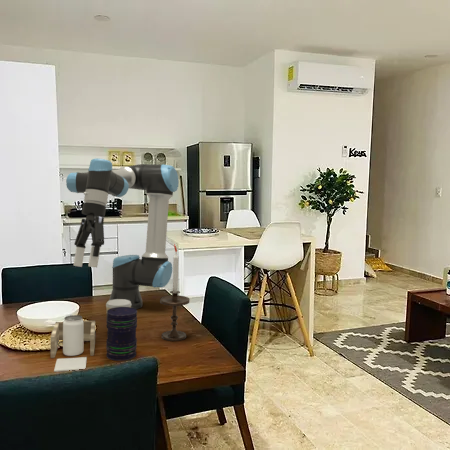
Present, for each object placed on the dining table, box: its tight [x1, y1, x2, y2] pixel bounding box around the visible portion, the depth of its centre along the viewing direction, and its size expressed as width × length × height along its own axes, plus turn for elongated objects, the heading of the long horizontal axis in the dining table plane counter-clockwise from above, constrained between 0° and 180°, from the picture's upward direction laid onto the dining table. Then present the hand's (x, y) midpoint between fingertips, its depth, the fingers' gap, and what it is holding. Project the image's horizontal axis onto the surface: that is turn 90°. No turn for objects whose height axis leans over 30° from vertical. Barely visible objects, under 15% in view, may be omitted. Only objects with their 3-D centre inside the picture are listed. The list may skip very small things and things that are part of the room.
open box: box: [50, 320, 96, 359], centre depth 155 cm, size 15×13×7 cm
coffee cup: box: [105, 299, 132, 313], centre depth 171 cm, size 9×9×12 cm
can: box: [62, 314, 85, 357], centre depth 151 cm, size 6×6×12 cm
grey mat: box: [53, 356, 88, 373], centre depth 142 cm, size 9×9×1 cm
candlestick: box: [159, 243, 191, 342], centre depth 168 cm, size 11×11×35 cm
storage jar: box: [105, 307, 138, 362], centre depth 150 cm, size 10×10×15 cm
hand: (84, 266), depth 151 cm, fingers open, 13 cm apart
